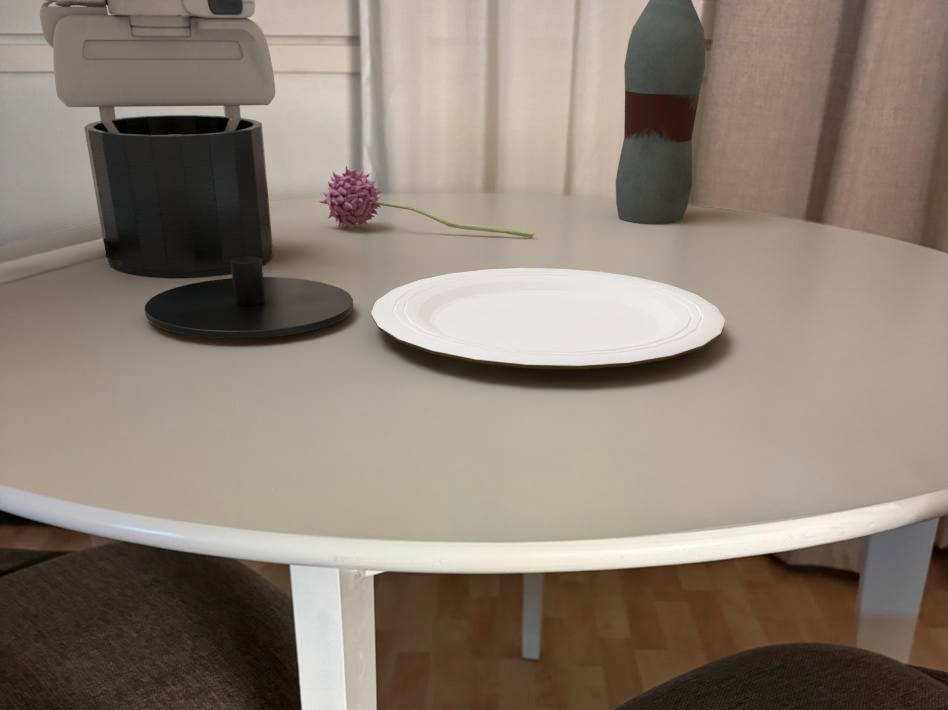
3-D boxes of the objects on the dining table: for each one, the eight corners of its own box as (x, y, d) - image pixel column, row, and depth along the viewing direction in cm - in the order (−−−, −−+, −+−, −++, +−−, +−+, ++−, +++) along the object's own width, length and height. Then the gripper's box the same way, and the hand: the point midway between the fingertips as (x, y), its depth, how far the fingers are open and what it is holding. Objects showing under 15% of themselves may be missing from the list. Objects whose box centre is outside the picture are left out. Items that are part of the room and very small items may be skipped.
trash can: (72, 264, 107) (47, 127, 100) (185, 234, 119) (169, 111, 113) (199, 285, 100) (181, 141, 94) (305, 252, 113) (295, 122, 106)
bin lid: (101, 325, 89) (91, 267, 86) (237, 281, 102) (231, 229, 100) (269, 359, 82) (263, 296, 79) (392, 306, 95) (390, 252, 93)
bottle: (654, 228, 126) (684, -78, 110) (597, 216, 131) (617, -76, 115) (703, 218, 131) (738, -75, 115) (646, 207, 137) (671, -73, 121)
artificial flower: (533, 254, 125) (328, 211, 127) (543, 194, 121) (330, 151, 122) (524, 277, 120) (311, 232, 122) (534, 216, 116) (312, 170, 117)
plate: (620, 277, 105) (621, 257, 104) (795, 365, 82) (799, 340, 81) (332, 302, 96) (331, 280, 95) (439, 407, 73) (439, 381, 72)
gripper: (33, -8, 92) (63, 164, 100) (270, -5, 97) (282, 159, 105) (37, -10, 97) (65, 155, 105) (262, -6, 102) (274, 150, 110)
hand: (176, 157), depth 105 cm, fingers open, 8 cm apart
